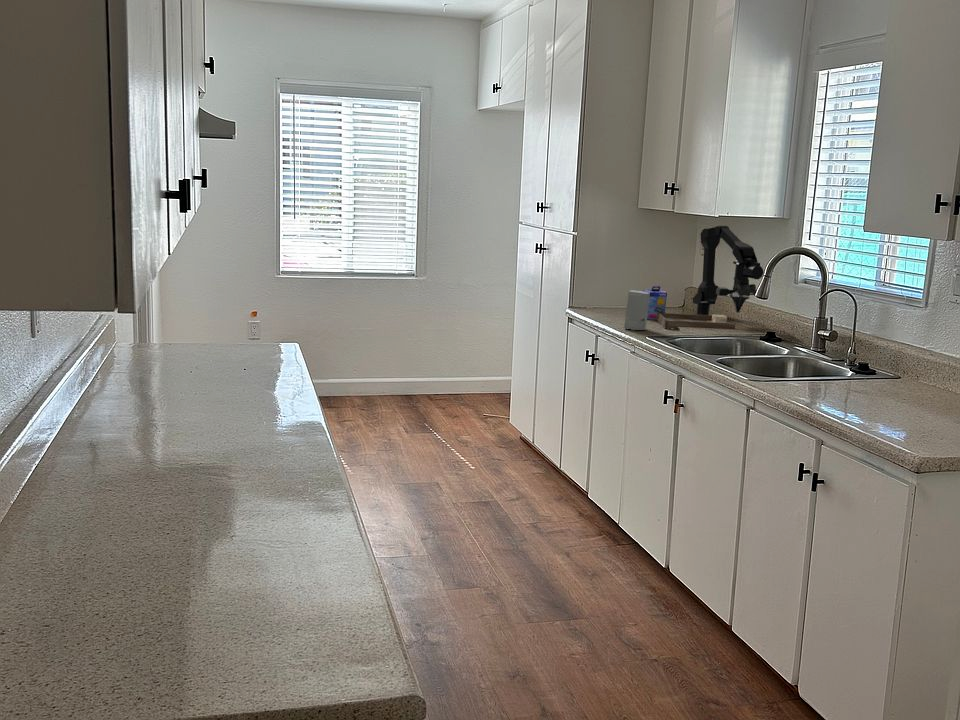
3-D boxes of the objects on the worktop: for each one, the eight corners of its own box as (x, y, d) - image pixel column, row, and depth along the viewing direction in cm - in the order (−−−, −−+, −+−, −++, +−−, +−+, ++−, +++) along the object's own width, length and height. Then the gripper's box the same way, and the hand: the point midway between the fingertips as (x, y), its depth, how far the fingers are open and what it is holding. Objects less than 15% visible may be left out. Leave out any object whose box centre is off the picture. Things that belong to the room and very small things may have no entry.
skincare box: (623, 329, 382) (627, 291, 379) (626, 326, 389) (629, 289, 386) (644, 331, 380) (648, 293, 377) (646, 328, 387) (650, 290, 383)
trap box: (657, 320, 406) (657, 312, 405) (723, 323, 406) (724, 315, 406) (665, 328, 389) (665, 320, 388) (734, 331, 389) (735, 323, 388)
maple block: (711, 322, 400) (712, 314, 399) (723, 323, 400) (724, 315, 399) (714, 324, 395) (715, 316, 394) (726, 325, 395) (727, 317, 394)
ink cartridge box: (643, 319, 408) (646, 286, 405) (639, 317, 414) (642, 284, 410) (665, 319, 410) (668, 286, 407) (660, 317, 416) (663, 284, 412)
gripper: (724, 277, 385) (720, 314, 388) (769, 279, 385) (765, 317, 389) (717, 273, 396) (713, 310, 399) (761, 275, 396) (757, 312, 399)
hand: (737, 312), depth 396 cm, fingers closed
